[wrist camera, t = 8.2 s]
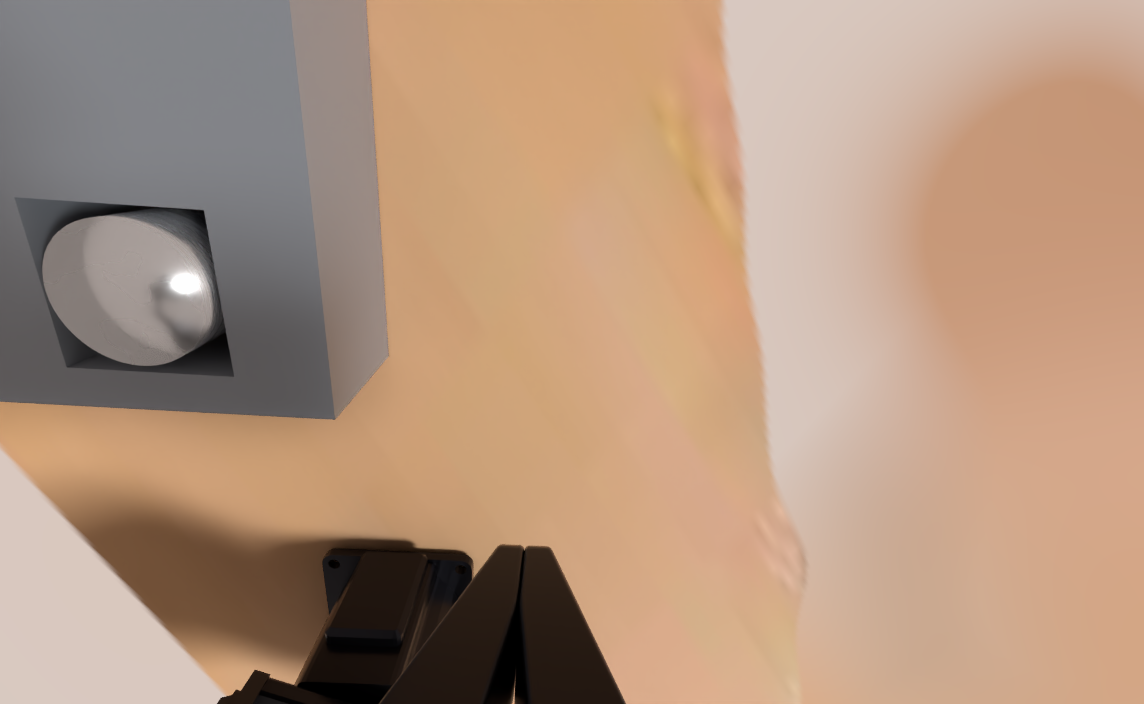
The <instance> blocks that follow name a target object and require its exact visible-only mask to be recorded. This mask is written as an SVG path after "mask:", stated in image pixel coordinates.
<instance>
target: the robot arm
mask: <svg viewBox="0 0 1144 704" xmlns="http://www.w3.org/2000/svg"><path fill="white" fill-rule="evenodd" d="M333 559H334V560H337V561H338V562H336V561H334V560H333ZM322 564H323V571H324V579H325V586H326V594H327V601H328V609H329V617H328V619H327V621H326V623H325V625H324V627H323V629H322V631H321V633H320V635H319V637H318V639H317V641H316V643H315V645H314V647H313V649H312V651H311V653H310V655H309V657H308V659H307V661H306V662H305V664H304V666H303V668H302V670H301V672H300V674H299V676H298V678H297V680H296V682H295V684H294V685H292V684H289V683H285V682H282V681H279V680H276V679H273V678H270V674H267V673H264V672H261V671H258V670H254V672H253V673H252V675H251V676H250V678H249V679H248V681H247V683H246V684H245V686H244V687H243V689H242V690H241V691H239V690H235V692H234V693H233V695H230V696H226V697H222V698H221V699H220V700H219V702H218V703H217V704H512V703H513V696H514V687H515V704H626V703H625V701H624V699H623V696H622V694H621V692H620V690H619V688H618V686H617V684H616V682H615V680H614V678H613V676H612V674H611V672H610V669H609V667H608V665H607V663H606V661H605V659H604V657H603V655H602V653H601V651H600V649H599V647H598V645H597V642H596V640H595V638H594V636H593V634H592V632H591V630H590V628H589V626H588V624H587V622H586V620H585V618H584V615H583V613H582V611H581V609H580V607H579V605H578V603H577V601H576V599H575V597H574V595H573V593H572V590H571V588H570V586H569V584H568V582H567V580H566V578H565V576H564V574H563V572H562V570H561V568H560V566H559V563H558V561H557V559H556V557H555V555H554V553H553V551H552V550H551V548H549V547H547V546H527V547H526V548H525V551H524V547H523V546H521V545H505V544H502V545H499V546H498V547H497V548H496V549H495V551H494V552H493V553H492V555H491V556H490V557H489V558H488V560H487V561H486V562H485V564H484V565H483V566H482V568H481V569H480V570H479V572H478V573H477V574H476V576H475V577H474V578H473V560H472V559H471V558H470V557H469V556H467V555H464V554H446V553H424V552H402V551H380V550H358V549H331V550H329V551H328V553H327V554H326V556H325V557H324V559H323V563H322ZM458 565H462V566H464V567H463V568H462V567H459V566H458Z"/></svg>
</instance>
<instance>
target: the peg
mask: <svg viewBox="0 0 1144 704" xmlns="http://www.w3.org/2000/svg"><path fill="white" fill-rule="evenodd" d="M42 275H43V282H44V287H45V291H46V293H47V296H48V299H49V301H50V303H51V305H52V307H53V309H54V311H55V312H56V314H57V315H58V317H59V318H60V320H61V321H62V322H63V323H64V325H65V326H66V327H67V328H68V329H69V330H70V331H71V332H72V333H73V334H74V335H75V336H76V337H77V338H78V339H79V340H81V341H82V342H83V343H84V344H86V345H87V346H89V347H90V348H92V349H93V350H95V351H97V352H98V353H100V354H102V355H104V356H106V357H109V358H111V359H113V360H116V361H119V362H122V363H127V364H131V365H139V366H154V365H161V364H165V363H169V362H171V361H174V360H176V359H178V358H180V357H182V356H184V355H185V354H187V353H189V352H191V351H193V350H195V349H196V348H198V347H200V346H202V345H204V344H206V343H207V342H209V341H211V340H213V339H215V338H216V337H218V336H220V335H222V334H224V333H226V329H225V323H224V318H223V312H222V307H221V301H220V296H219V290H218V285H217V279H216V274H215V268H214V263H213V257H212V252H211V246H210V241H209V235H208V230H207V224H206V219H205V213H204V210H197V209H182V208H167V207H158V208H151V209H144V210H138V211H131V212H124V213H118V214H111V215H104V216H98V217H91V218H84V219H81V220H78V221H74V222H72V223H70V224H68V225H66V226H65V227H63V228H62V229H61V230H59V231H58V232H57V233H56V234H55V235H54V236H53V238H52V239H51V241H50V242H49V244H48V246H47V248H46V251H45V253H44V258H43V265H42Z"/></svg>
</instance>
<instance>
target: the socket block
mask: <svg viewBox="0 0 1144 704" xmlns="http://www.w3.org/2000/svg"><path fill="white" fill-rule="evenodd" d="M158 207H167V208H182V209H197V210H204V213H205V219H206V224H207V230H208V235H209V241H210V246H211V252H212V257H213V263H214V268H215V274H216V279H217V285H218V290H219V296H220V301H221V307H222V312H223V318H224V323H225V329H226V333H224V334H222V335H220V336H218V337H216V338H215V339H213V340H211V341H209V342H207V343H206V344H204V345H202V346H200V347H198V348H196V349H195V350H193V351H191V352H189V353H187V354H185V355H184V356H182V357H180V358H178V359H176V360H174V361H171V362H169V363H165V364H161V365H154V366H139V365H131V364H127V363H122V362H119V361H116V360H113V359H111V358H109V357H106V356H104V355H102V354H100V353H98V352H97V351H95V350H93V349H92V348H90V347H89V346H87V345H86V344H84V343H83V342H82V341H81V340H79V339H78V338H77V337H76V336H75V335H74V334H73V333H72V332H71V331H70V330H69V329H68V328H67V327H66V326H65V325H64V323H63V322H62V321H61V320H60V318H59V317H58V315H57V314H56V312H55V311H54V309H53V307H52V305H51V303H50V301H49V299H48V296H47V293H46V291H45V287H44V282H43V275H42V265H43V258H44V253H45V251H46V248H47V246H48V244H49V242H50V241H51V239H52V238H53V236H54V235H55V234H56V233H57V232H58V231H59V230H61V229H62V228H63V227H65V226H66V225H68V224H70V223H72V222H74V221H78V220H81V219H84V218H91V217H98V216H104V215H111V214H118V213H124V212H131V211H138V210H144V209H151V208H158ZM388 356H389V353H388V337H387V322H386V306H385V290H384V275H383V259H382V244H381V228H380V212H379V197H378V181H377V165H376V150H375V134H374V119H373V103H372V87H371V72H370V56H369V40H368V25H367V9H366V0H0V402H18V403H36V404H55V405H73V406H92V407H110V408H129V409H148V410H166V411H185V412H203V413H222V414H240V415H259V416H277V417H296V418H315V419H333V420H335V419H336V418H337V417H338V416H339V414H340V413H341V412H342V411H343V410H344V408H345V407H346V406H347V405H348V404H349V403H350V401H351V400H352V399H353V398H354V397H355V395H356V394H357V393H358V392H359V391H360V390H361V388H362V387H363V386H364V385H365V384H366V382H367V381H368V380H369V379H370V378H371V376H372V375H373V374H374V373H375V372H376V371H377V369H378V368H379V367H380V366H381V365H382V363H383V362H384V361H385V360H386V359H387V357H388Z"/></svg>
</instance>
